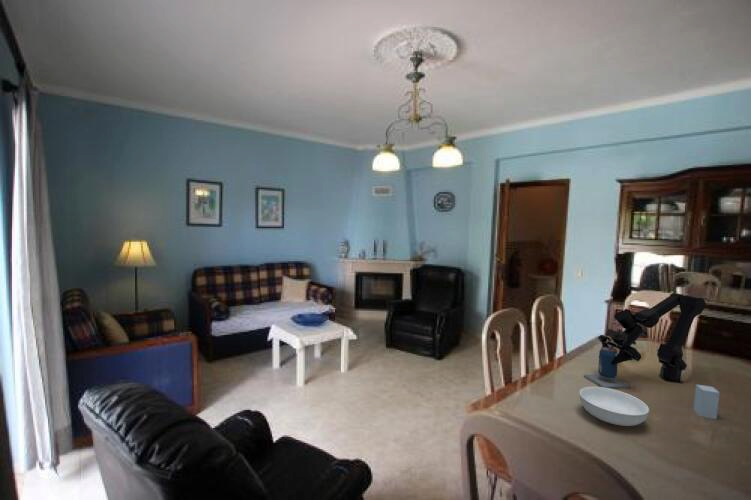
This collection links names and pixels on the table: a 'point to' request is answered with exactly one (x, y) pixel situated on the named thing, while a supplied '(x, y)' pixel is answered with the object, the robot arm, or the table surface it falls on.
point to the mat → (606, 381)
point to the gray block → (706, 401)
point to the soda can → (607, 362)
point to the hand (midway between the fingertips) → (605, 361)
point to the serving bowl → (613, 406)
